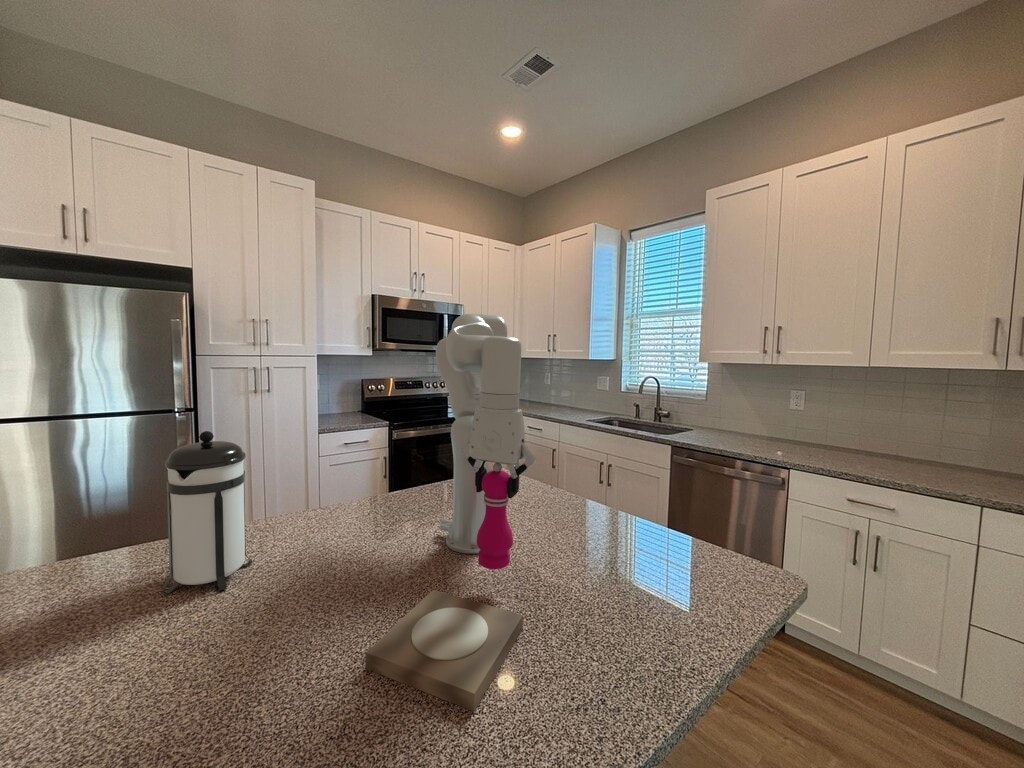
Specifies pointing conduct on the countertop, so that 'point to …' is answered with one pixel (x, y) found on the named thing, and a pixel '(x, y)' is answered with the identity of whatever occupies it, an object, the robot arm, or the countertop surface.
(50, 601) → the countertop surface
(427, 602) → the walnut stand
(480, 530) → the pepper mill
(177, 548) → the coffee press
